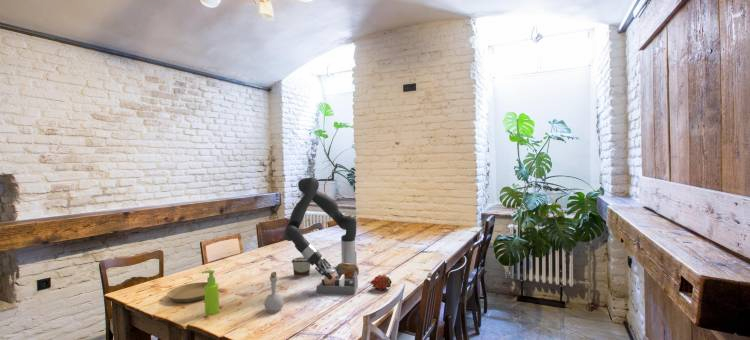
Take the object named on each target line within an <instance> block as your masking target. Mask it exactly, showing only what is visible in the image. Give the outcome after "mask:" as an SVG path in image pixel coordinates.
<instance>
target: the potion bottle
mask: <svg viewBox="0 0 750 340" xmlns="http://www.w3.org/2000/svg"><path fill="white" fill-rule="evenodd" d="M269 281H270V283H271V287H270V288H271V293H270V294H268V295H267V296H266V298H265V301H264V304H263V305H264V308H265V310H266V312H267V313H269V314H275V313H279V312H281V311H282V308H284V304H285V303H284V299H283V295H282V294H281V293H279V292H278V293H277V281H278V275H277V271H273V272H271V273H270V276H269Z"/></svg>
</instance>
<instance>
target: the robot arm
mask: <svg viewBox="0 0 750 340" xmlns="http://www.w3.org/2000/svg"><path fill="white" fill-rule="evenodd" d="M297 186H298V190H299V191H300V192H301V194H303V196H302V197H301V199H300V200H299V201H298V202H297V204H295V206H294V207H293V209H292V212H291V214H290V217H289V219H288V223H287V225H286V227H285V229H284V232H283V238H284V240H285V241H287V242H292V243H293V244H294V247H295V249H296V250H297V252H299V253H300V254H301V255H302V257H304V258H305V259H306V260H307V261H308V262H309V263H310V266H314V265H315V268H314V269H315V270H316V272H318V273H319V274H320V275H321V276H323V277H324V276H326V277H327V278H328V279H329V280H331V279H332V278H333V277H332V276H331V275H330V274H329V273H328V271H327V270H326V269H327V268H332V265H331V264H330V263H329V262H328V261H327V259H326V258H323V259H322V257H323V254H321V253H320V251H318V249H317V248H315V247H314V246H313V245H312V244H311V243H310V242H309V241H308V240H307V239H306V238H305V237H304V235H303V233H302V232H301V231H300V230H299V229H300V225H302V222H303V221H304V218H305V214H306V212H307V209H308V208H309V205H310V204H311V202H314V204H315V205H317V206H318V207H319V208H320V209H321V210H322V211H323V212H324V213H325V214H326V215H328V216H329V217H330V218H331V219H332V220H333V222H335V223H336V225H337V226H338V227H339V228H340V229H341V230H345V234H343V235H341V237H340V239H341V240H340V241H341V243H340V244H341V248H340V250H341V263H349V264H355V265H356V266H358V263H357V260H358V259H357V250H356V236H357V219H356V217H354V216H351V215H348V216H347V215H345V214H344V213H342V212H341V211H340V209H339V205H338V204H337V202H336V201H335V200H334V199H333V198H332V197H330V196H329V195H328V194H325V193H323V192H320V191H318V190H319V186H320V182H319V180H318V179H317V178H316V177H312V176H311V177H306V178H305V177H304V178H301V179H300V180H299V181H298V183H297Z"/></svg>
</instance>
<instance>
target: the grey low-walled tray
mask: <svg viewBox="0 0 750 340" xmlns="http://www.w3.org/2000/svg"><path fill="white" fill-rule="evenodd" d="M339 279H340V278H339ZM339 279H337V278H335V285H334V286H325V285H324V278H321V279H320V280H321V281H320V283H319V284H318V285H316V294H322V295H323V294H325V295H326V294H327V295H328V294H329V295H353V296H354V295H355V294H356V292H357V290H358V287H359V283H358V282H359V280H358V276H357V272H355V274H354V276H353V279H344V283H345V285H344V286H339Z"/></svg>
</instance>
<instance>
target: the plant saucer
mask: <svg viewBox="0 0 750 340" xmlns="http://www.w3.org/2000/svg"><path fill="white" fill-rule="evenodd" d="M205 285H207V281H205V282H204V281H200V282H193V283H187V284H184V285H180V286H177V287H175V288H173V289H170V290H169V291H167V294H166V295H167V298H168V299H169V300H171V302H172V301H173V302H175V303H183V304H184V303H194V302H198V301H201V300H205V287H204V286H205Z"/></svg>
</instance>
